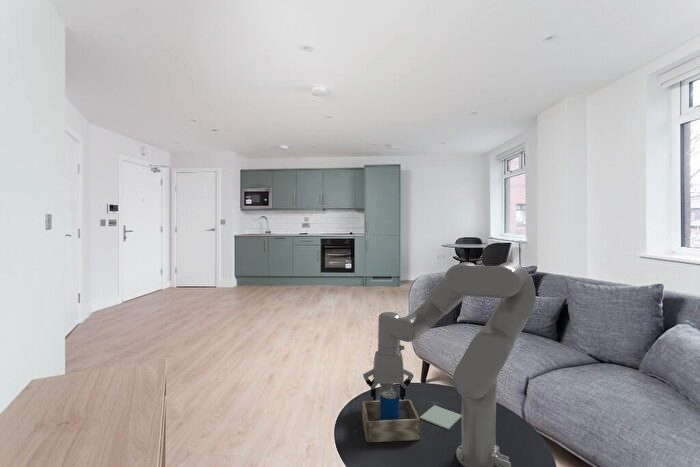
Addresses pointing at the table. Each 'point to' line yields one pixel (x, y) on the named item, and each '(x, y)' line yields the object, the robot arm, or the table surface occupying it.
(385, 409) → the beverage can
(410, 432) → the box
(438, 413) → the green mat
